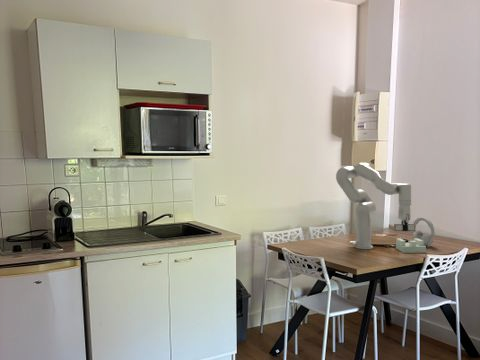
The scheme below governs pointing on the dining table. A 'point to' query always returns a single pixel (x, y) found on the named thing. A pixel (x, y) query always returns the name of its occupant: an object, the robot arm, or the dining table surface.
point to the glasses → (400, 227)
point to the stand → (411, 246)
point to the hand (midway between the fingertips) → (404, 230)
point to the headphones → (427, 236)
